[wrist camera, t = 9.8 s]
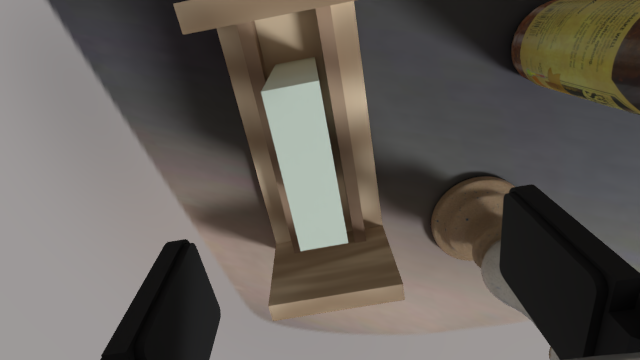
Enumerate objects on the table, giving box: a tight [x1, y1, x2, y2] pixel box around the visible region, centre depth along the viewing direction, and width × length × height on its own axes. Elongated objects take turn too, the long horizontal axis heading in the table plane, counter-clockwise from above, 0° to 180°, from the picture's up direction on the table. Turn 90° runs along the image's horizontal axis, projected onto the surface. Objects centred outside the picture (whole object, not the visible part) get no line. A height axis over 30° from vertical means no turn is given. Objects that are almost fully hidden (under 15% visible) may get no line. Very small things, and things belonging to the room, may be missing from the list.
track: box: [173, 0, 405, 321], centre depth 27 cm, size 22×10×9 cm, turn 10°
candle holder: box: [431, 176, 560, 360], centre depth 26 cm, size 9×9×20 cm
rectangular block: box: [261, 57, 348, 251], centre depth 25 cm, size 10×4×10 cm, turn 10°
